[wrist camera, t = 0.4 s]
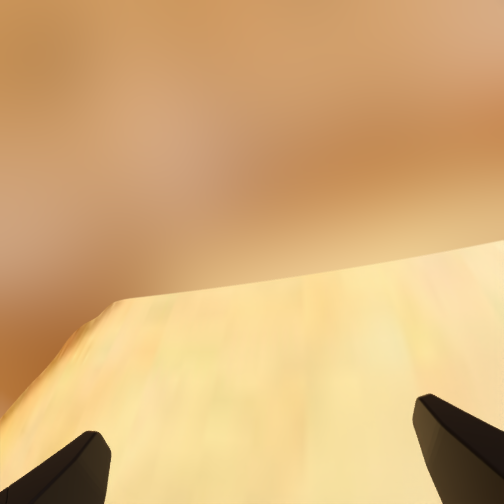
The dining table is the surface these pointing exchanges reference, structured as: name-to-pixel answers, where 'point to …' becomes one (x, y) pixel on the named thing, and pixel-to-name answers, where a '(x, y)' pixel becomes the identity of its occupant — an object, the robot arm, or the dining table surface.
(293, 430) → the dining table surface
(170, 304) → the dining table surface
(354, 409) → the dining table surface
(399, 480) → the dining table surface
